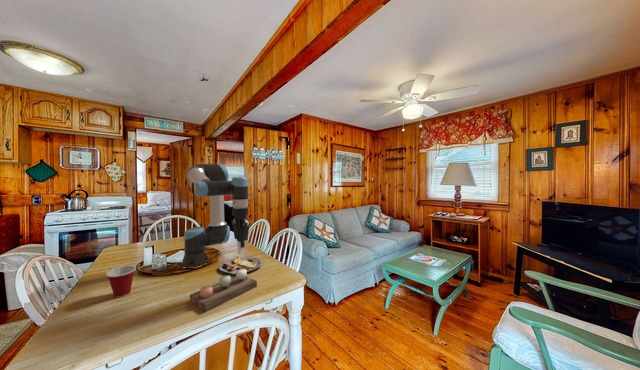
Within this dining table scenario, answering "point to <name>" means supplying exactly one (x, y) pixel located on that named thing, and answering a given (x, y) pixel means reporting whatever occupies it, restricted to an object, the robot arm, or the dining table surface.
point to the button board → (223, 293)
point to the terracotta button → (206, 291)
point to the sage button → (225, 280)
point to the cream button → (241, 274)
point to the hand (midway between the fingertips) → (241, 253)
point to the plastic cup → (121, 279)
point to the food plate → (240, 264)
